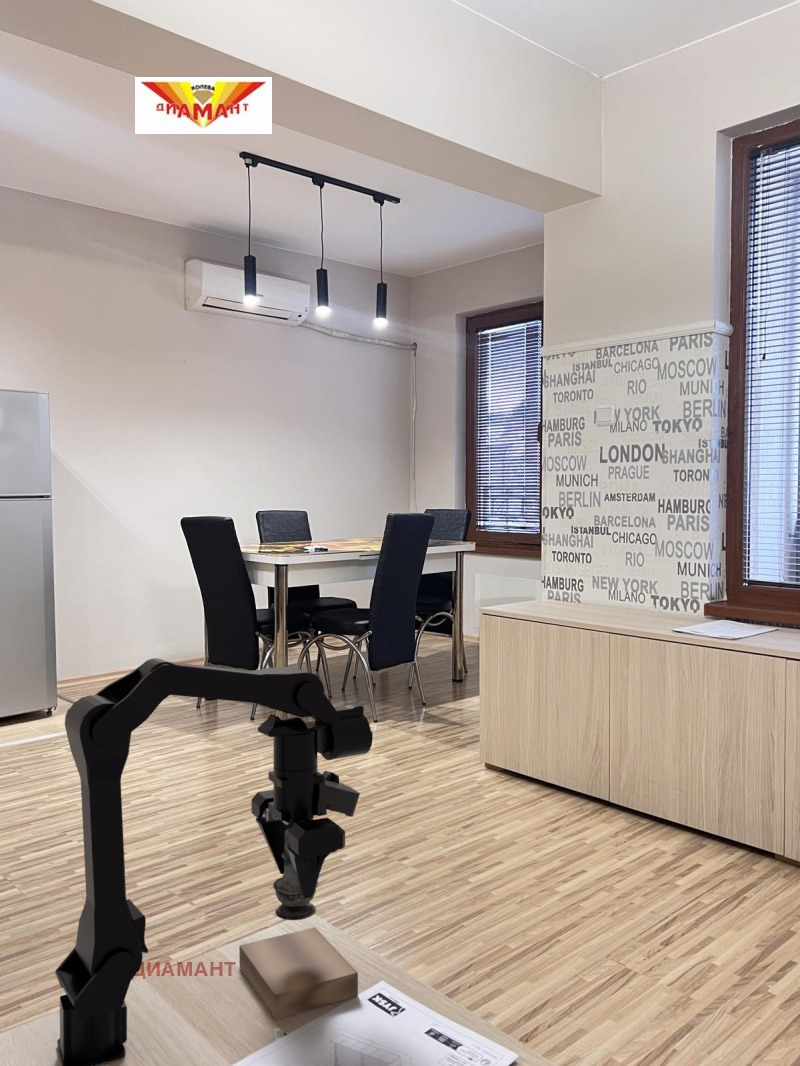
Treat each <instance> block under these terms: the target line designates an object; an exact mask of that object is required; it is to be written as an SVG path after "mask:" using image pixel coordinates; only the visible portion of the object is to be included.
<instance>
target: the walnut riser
mask: <svg viewBox="0 0 800 1066" xmlns="http://www.w3.org/2000/svg"><path fill="white" fill-rule="evenodd" d="M238 947H239V969H240V968H241V969H240V970H241V972H242V973H243V975H244V976H245V978H246V979H247V980H248V982H249V984H250V985H251V986H252V988H253V989H254V991H255V992H256V994H257V995H258V996H259V998H260V999H261V1001H262V1003H263V1005H265V1007H266V1008H267V1010H268V1011H269V1013H270V1014H271V1016H272V1017H273V1019H274V1020H279V1019H282V1018H286V1017H290V1016H293V1015H297V1014H300V1013H304V1012H307V1011H310V1010H314V1009H318V1008H322V1007H325V1006H329V1005H331V1004H335V1003H338V1002H342V1001H346V1000H349V999H352V998H356V997H358V995H359V972H358V971H357V970H356V968H354V967H353V966H352V964H351V963H350V962H349V961H348V960H347V959H346V958H345V957H344V955H342V954H341V953H340V951H338V950H337V948H335V946H334V945H332V943H330V941H329V940H328V939H327V937H325V936H324V935H323V934H322V933H321V931H320V930H318V929H317V928H316V927H312V928H311V927H310V928H306V929H303V930H298V931H293V932H289V933H285V934H281V935H277V936H273V937H269V938H264V939H259V940H257V941H256V940H255V941H251V942H248V943H244V944H240V945H239V946H238Z"/></svg>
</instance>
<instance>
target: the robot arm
mask: <svg viewBox="0 0 800 1066" xmlns="http://www.w3.org/2000/svg"><path fill="white" fill-rule="evenodd" d="M169 696H179V697H192V698H200V699H211V700H219V701H221V700H222V701H229V702H230V701H231V702H242V703H250V704H251V703H253V704H256V705H261V706H264V707H267V708H270V709H273V710H275V711H278V712H283V713H286V714H289V715H293V716H295V717H290V718H289V717H287V718H280V717H279V716H278V715H275V714H272V713H270V714H269V715H268V717H267V719H266V720H265V721H264V722H262V723H261V724H259V726H258V728H257V732H258V733H259V734H262V735H264V736H267V737H269V738H273V770H270V771H268V780H269V781H270V782H272V784H273V789H270V790H262V791H257V792H256V794H255V795H254V796H253V797H252V798H251V802H250V803H251V814H252V815H253V816H254V817H255V823H257V825H258V827H259V829H260V831H261V833H262V836H263V838H264V840H265V842H266V845H267V847H268V849H269V852H270V854H271V855H272V858H273V860H274V862H275V865H276V867H277V869H278V872H279V873H280V874H281V875H283V874H284V858H283V857H282V854H283V853H284V852H285V831H286V830H287V829H288V828H289V827H291V826H292V828H291V829H290V830H289V831H288V840H289V844H290V848H287V849H288V852H289V855H290V858H291V861H292V864H293V867H294V870H295V873H296V876H297V879H298V882H299V885H300V888H301V891H302V894H303V896H304V898H310V897H312V896H313V894H314V891H315V887H316V884H317V881H318V882H319V878H320V874H321V871H322V867H323V865H324V862H325V860H326V858H327V857H328V856H329V855H330V854H333V853H335V852H337V851H338V850H342V849H344V848H345V847H346V831H345V830H344V829H343V828H342V827H341V826H340V825H338V824H337V823H336V822H335V821H333V820H332V819H331V818H329V817H323V816H326V815H327V814H328V813H327V811H330V812H334V813H340V814H344V815H345V816H346V817H350V818H353V817H354V814H355V811H356V808H357V805H358V803H359V798H360V795H361V793H360V792H359V791H357V790H356V789H354V788H353V787H351V786H349V785H347V784H344V783H343V782H340V778H339V777H340V776H339V775H338V774H336V773H335V772H332V771H328V770H324V771H323V772H322V773H321V772H319V770H318V769H319V768H318V767H319V765H318V754H320V755H321V756H322V757H323V759H325V761H326V760H327V761H331V760H338V759H344V758H349V757H355V756H360V755H366V754H368V753H369V751H370V750H371V748H372V746H373V738H374V737H373V736H374V735H373V731H372V730H371V729H372V728H371V726H370V725H371V724H370V723H369V720H368V718H367V717H366V715H365V712H364V711H365V710H364V709H365V708H364V706H363V705H361V704H358V703H351V704H347V705H345V706H340V707H334V705H333V704H332V702H331V701H330V700H329V699H328V698H327V696H326V694H325V688H324V683H323V681H322V680H321V678H320V676H319V675H317V674H315V673H313V672H309V671H305V670H302V669H299V668H295V667H292V666H279V667H278V666H277V667H265V668H262V669H255V670H243V669H235V668H234V669H232V668H227V667H225V668H224V667H217V666H208V665H199V664H192V663H191V664H190V663H185V662H184V663H183V662H175V661H167V660H164V659H161V658H150V659H147V660H146V661H144V662H143V663H141V665H139V666H138V667H137V668H135V669H134V670H133V671H130V672H129V673H127V674H126V675H124V676H122V677H120V678H118V679H116V680H114V681H113V682H111V683H109V684H108V685H106V686H104V687H103V688H102V689H100V690H99V691H98V692H96V693H95V694H91V695H89V694H88V695H86V696H83V697H81V698H79V699H78V700H76V701H75V702H74V703H73V704H72V705H71V706H70V707H69V709H67V710H66V713H65V716H64V717H65V719H64V727H65V732H66V735H67V741H68V745H69V748H70V752H71V755H72V757H73V761H74V763H75V767H76V770H77V772H78V775H79V779H80V791H81V793H80V794H81V814H82V831H83V832H82V833H83V834H82V836H83V837H82V839H83V853H84V858H83V859H84V875H85V876H84V877H85V879H84V880H85V895H86V897H85V902H84V906H83V908H82V911H81V914H80V917H79V920H78V925H77V933H76V941H75V946H74V947H73V949H72V950H71V951H70V952H69V954H68V955H67V956H66V957H65V958H64V959H63V961H62V962H61V963H60V964H59V965H58V967H57V968H56V969H55V971H54V973H55V977H56V978H57V981H58V983H59V985H60V987H61V988H62V990H64V992H65V994H63V995H60V996H59V1038H58V1039H57V1042H56V1043H57V1049H58V1054H59V1057H60V1063H61V1066H98V1065H103V1064H106V1063H108V1062H112V1061H116V1060H119V1059H122V1058H125V1056H126V1049H125V1045H124V1044H125V1043H127V1041H128V1007H127V1004H126V1001H125V998H126V996H127V993H128V991H129V987H130V985H131V982H132V980H133V978H135V976H136V974H137V973H138V972H140V970H141V968H142V965H143V953H145V954H147V953H149V949H148V947H147V944H146V940H145V934H146V933H145V932H146V925H147V923H146V920H147V919H146V916H145V915H144V913H143V912H142V911H141V910H140V909H139V907H137V906H136V905H135V903H133V901H132V900H131V899H130V898H128V899H127V889H126V888H127V887H126V867H125V866H126V864H125V844H124V824H123V823H124V822H123V803H122V801H123V800H122V799H123V798H122V775H123V772H124V769H125V767H126V763H127V760H128V757H129V754H130V745H131V737H132V732H133V731H135V730H136V729H138V727H139V726H141V725H142V724H144V722H145V723H146V721H147V720H148V719H149V718H150V716H152V713H154V711H156V709H157V708H158V707H159V706H160V704H161V703H162V702H163V701H165V700H166V698H168V697H169ZM308 717H309V718H312V719H314V720H311V721H304V720H303V719H302V718H308ZM315 816H317V817H321V816H322V818H316V819H314V817H315ZM314 895H315V894H314Z"/></svg>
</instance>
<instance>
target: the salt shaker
mask: <svg viewBox="0 0 800 1066" xmlns="http://www.w3.org/2000/svg"><path fill="white" fill-rule="evenodd" d="M291 828H292V826H291V827H289V828H288V829H287V830H286V831H285V852H284V853H283V854H282V857H283V858H284V874H282V877H280V878H278V879H276V880H275V881H274V882H273V884H272V886H273V888H272V889H274V891H275V895H276V898H277V899H278V901H279V902H280V903H281V904H280V905H279V906H277V907H276V909H275V915H276V916H277V917H278V918H280V919H281V920H285V921H286V920H287V921H301V920H305V919H309V918H311V917H313V916H314V915H315V914H316V912H317V907H316V906H315V905H314V904H313V903H312V902H311V901H312V900H313V899H314V897H315V894H316V892H317V887H318V886H319V880H318V881H317V884H316V887H315V891H314V894H313V896H312V897H310V898H304V896H303V894H302V891H301V888H300V885H299V882H298V879H297V876H296V873H295V870H294V867H293V864H292V861H291V858H290V855H289V852H288V849H287V848H290V844H289V840H288V831H289V830H290V829H291Z"/></svg>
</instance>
